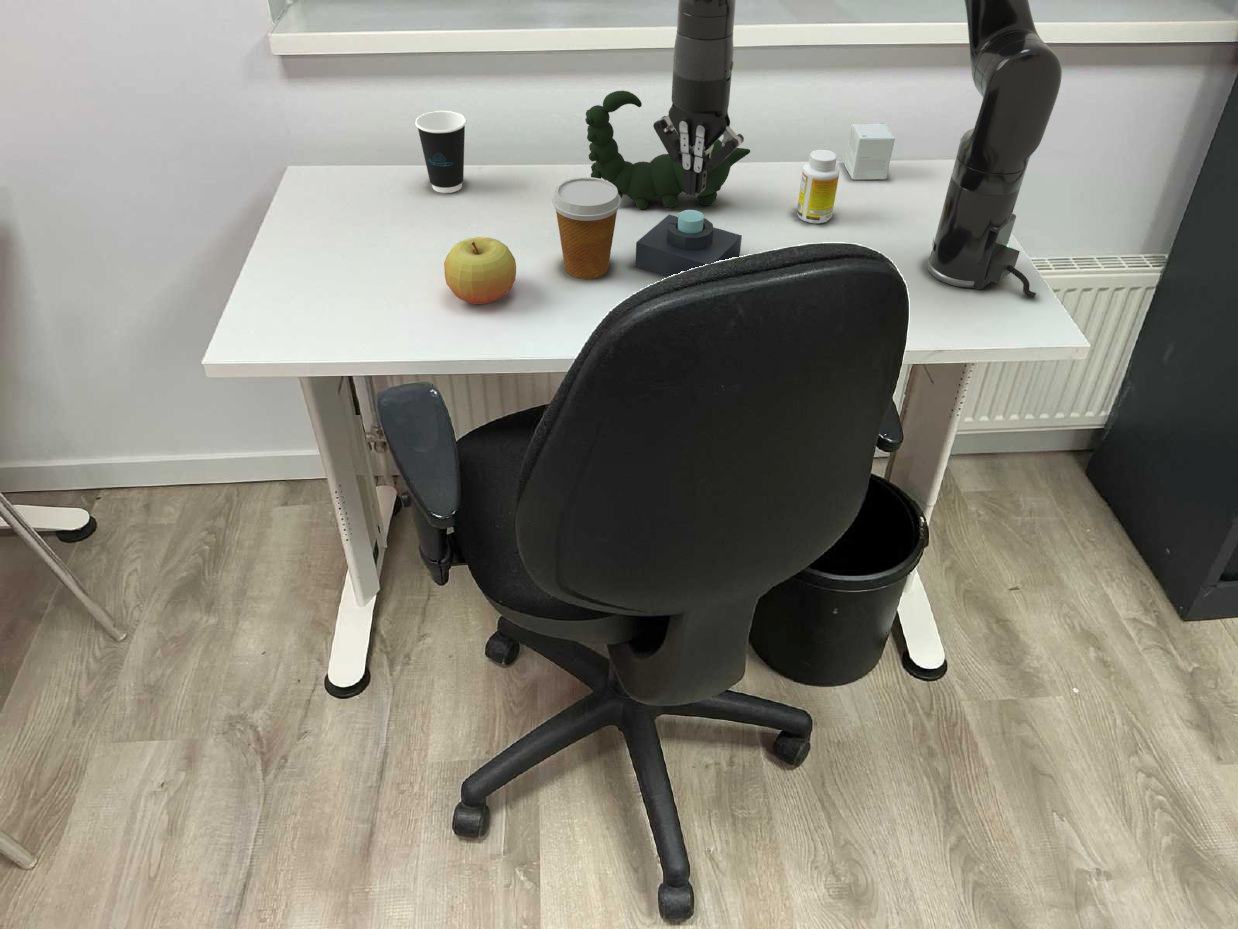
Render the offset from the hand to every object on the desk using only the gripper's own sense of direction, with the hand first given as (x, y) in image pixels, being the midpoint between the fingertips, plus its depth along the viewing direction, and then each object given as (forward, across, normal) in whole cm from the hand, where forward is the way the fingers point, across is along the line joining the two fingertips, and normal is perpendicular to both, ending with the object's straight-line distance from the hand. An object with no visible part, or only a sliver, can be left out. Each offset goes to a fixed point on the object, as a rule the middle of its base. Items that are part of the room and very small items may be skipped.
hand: (694, 193), depth 138 cm
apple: (+11, -20, -23) cm, 33 cm away
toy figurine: (+11, -12, +15) cm, 22 cm away
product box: (+12, +12, +43) cm, 46 cm away
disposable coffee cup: (+11, -12, -9) cm, 19 cm away
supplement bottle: (+11, +10, +23) cm, 28 cm away
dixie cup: (+11, -45, +1) cm, 46 cm away
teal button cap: (+5, 0, 0) cm, 5 cm away
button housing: (+11, 0, 0) cm, 11 cm away
